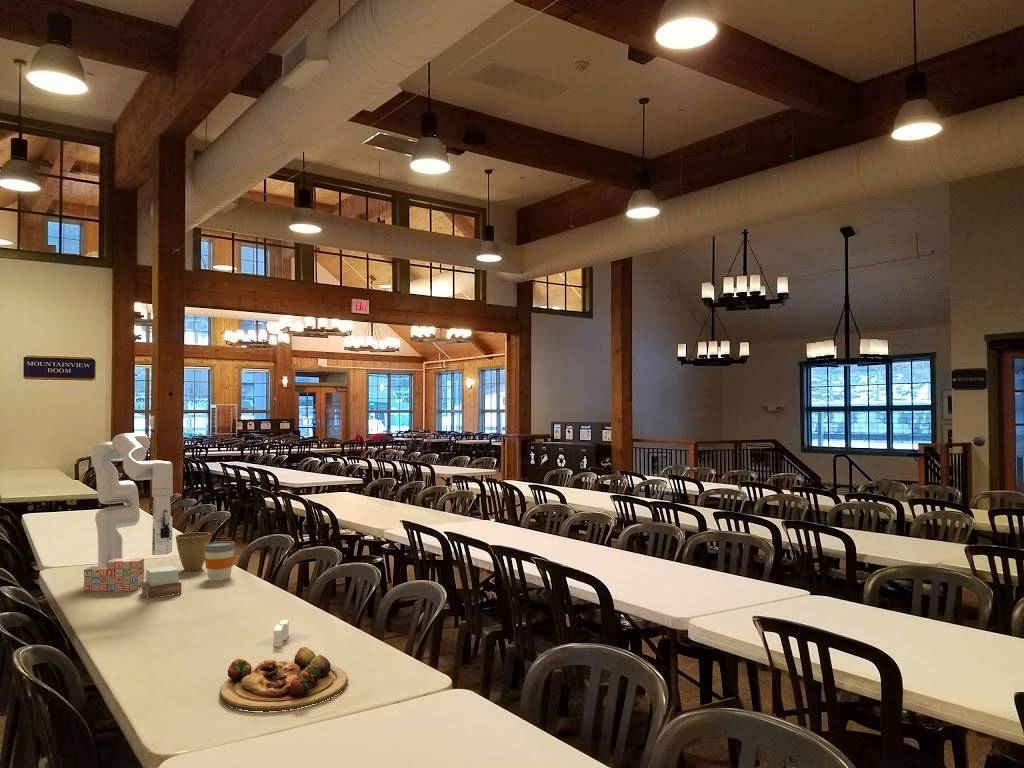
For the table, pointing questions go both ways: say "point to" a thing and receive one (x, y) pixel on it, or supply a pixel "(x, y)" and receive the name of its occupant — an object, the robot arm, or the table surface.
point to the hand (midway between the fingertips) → (162, 536)
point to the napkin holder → (281, 632)
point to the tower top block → (161, 575)
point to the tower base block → (160, 589)
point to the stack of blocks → (115, 575)
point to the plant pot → (192, 549)
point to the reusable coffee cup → (219, 559)
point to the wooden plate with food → (282, 683)
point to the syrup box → (161, 539)
